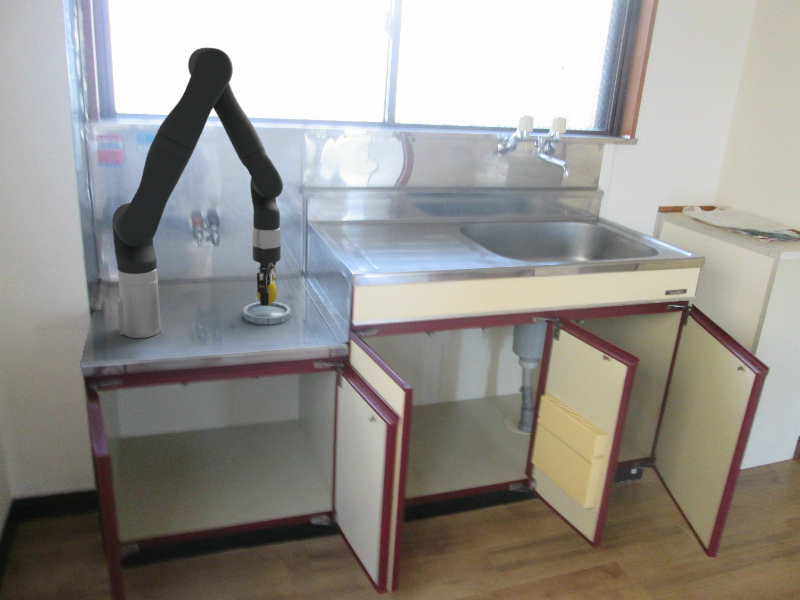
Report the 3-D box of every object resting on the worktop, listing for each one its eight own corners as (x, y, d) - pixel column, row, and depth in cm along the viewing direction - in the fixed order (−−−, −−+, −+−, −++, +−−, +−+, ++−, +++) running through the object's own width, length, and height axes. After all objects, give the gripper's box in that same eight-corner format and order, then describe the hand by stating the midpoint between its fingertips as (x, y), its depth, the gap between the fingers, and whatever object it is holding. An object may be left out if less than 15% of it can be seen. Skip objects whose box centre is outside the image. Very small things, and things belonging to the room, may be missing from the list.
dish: (238, 322, 183) (238, 316, 182) (249, 305, 195) (249, 300, 195) (285, 325, 183) (285, 319, 182) (293, 309, 195) (294, 303, 195)
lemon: (252, 306, 187) (252, 279, 184) (265, 301, 192) (265, 274, 189) (268, 311, 185) (268, 283, 182) (280, 305, 189) (281, 278, 187)
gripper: (258, 235, 189) (259, 291, 194) (246, 249, 175) (247, 309, 181) (285, 237, 189) (284, 293, 194) (275, 251, 175) (274, 311, 181)
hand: (266, 301), depth 188 cm, fingers closed on lemon, 5 cm apart
